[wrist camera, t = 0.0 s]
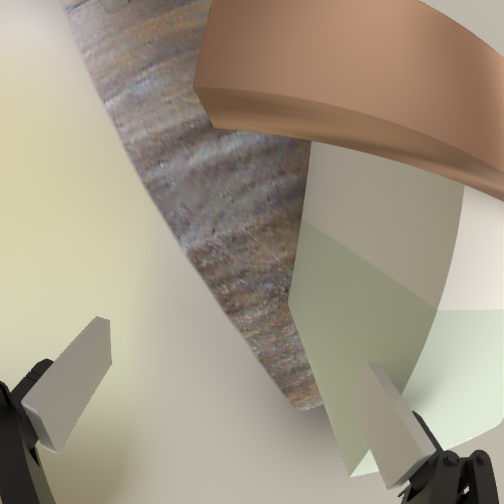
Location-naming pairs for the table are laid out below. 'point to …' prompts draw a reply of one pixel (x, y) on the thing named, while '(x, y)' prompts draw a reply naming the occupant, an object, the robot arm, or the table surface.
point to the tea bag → (114, 5)
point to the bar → (359, 82)
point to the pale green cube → (400, 294)
